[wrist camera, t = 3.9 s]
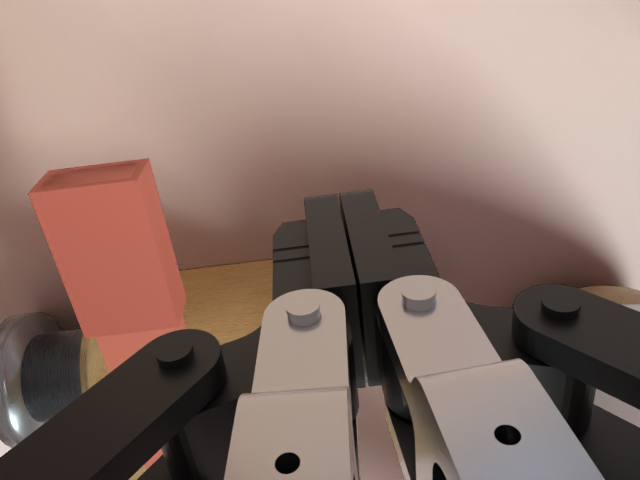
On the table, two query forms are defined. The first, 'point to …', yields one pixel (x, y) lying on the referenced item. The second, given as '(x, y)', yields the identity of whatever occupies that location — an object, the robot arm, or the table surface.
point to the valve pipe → (86, 357)
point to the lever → (112, 254)
